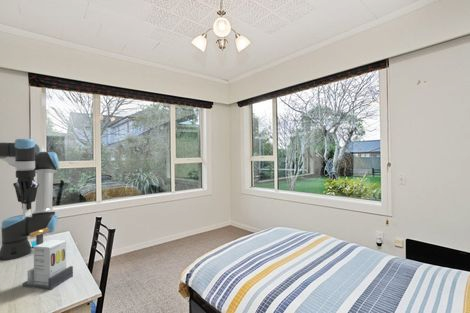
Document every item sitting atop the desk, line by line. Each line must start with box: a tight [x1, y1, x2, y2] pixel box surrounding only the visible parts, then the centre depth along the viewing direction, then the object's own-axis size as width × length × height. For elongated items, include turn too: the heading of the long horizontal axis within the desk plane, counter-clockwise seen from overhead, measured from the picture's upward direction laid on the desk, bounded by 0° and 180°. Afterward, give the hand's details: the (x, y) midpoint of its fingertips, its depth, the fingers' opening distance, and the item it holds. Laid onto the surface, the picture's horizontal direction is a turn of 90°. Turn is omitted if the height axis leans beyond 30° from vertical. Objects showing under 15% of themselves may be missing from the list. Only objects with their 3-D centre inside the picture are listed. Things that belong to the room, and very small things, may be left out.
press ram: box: [27, 228, 49, 282], centre depth 117 cm, size 11×2×23 cm, turn 171°
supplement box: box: [33, 239, 67, 283], centre depth 117 cm, size 10×9×17 cm
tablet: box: [29, 240, 48, 249], centre depth 163 cm, size 20×12×2 cm, turn 43°
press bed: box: [21, 265, 74, 291], centre depth 117 cm, size 12×16×5 cm
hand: (27, 215), depth 121 cm, fingers closed
